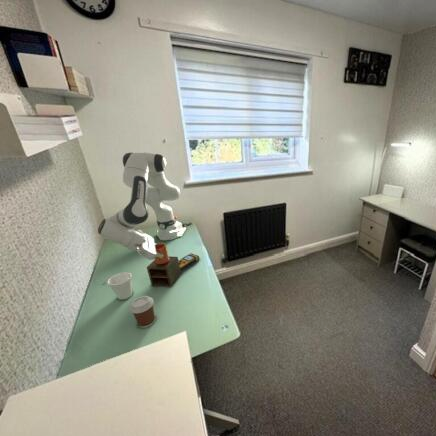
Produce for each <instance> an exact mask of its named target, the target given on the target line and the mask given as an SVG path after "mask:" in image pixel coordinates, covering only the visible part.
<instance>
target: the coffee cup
mask: <svg viewBox="0 0 436 436" xmlns="http://www.w3.org/2000/svg"><path fill="white" fill-rule="evenodd" d="M154 303H155V301H154V298H152V297H151V296H148V295H140V296H137V297H136V298H134V299H133V300H132V301H131V303H130V305H129V307H128V309H129V312H130V313H131V314H133V316H134V318H135V320H136V322H137V324H138V326H139V327H140V328H143V329H145V328H148V327H151V326H152V325H153V324H154V323H155V322H156V316H155V310H154Z"/></svg>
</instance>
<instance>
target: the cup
mask: <svg viewBox="0 0 436 436" xmlns="http://www.w3.org/2000/svg"><path fill="white" fill-rule="evenodd" d="M106 283H107V284H108V286H109V287H110V288H111V290H112V291H113V293H114V295H115V296H116V298H117V299H118V300H127V299H129V298H131V297H132V295H133V285H132V284H133V283H132V274H131V273H130V272H125V271H124V272H119V273H116V274H114V275H112V276H111V277H109V278H108V279H107V282H106Z"/></svg>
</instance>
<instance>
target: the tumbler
mask: <svg viewBox="0 0 436 436" xmlns="http://www.w3.org/2000/svg"><path fill="white" fill-rule="evenodd" d="M155 248H156V252H158V253H162V254H163V257H162V258H160V257H155V258H154V259H153V260H155V262H156V264H164V263H166V262H168V261H169V257H168V256H169V253H168V249H167V244H166V243H163V242H159V243H156V245H155Z"/></svg>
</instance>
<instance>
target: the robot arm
mask: <svg viewBox="0 0 436 436" xmlns="http://www.w3.org/2000/svg"><path fill="white" fill-rule="evenodd" d="M122 166H123V167H124V169H123V174H122V182H123V183H124V185H125V186H127V187H128V188H130V189H131V192H130V193H131V194H130V201H129V203H128V204H127V205H126V206H125V207H124V208H122V209H121V210H119V211H117V212H116V213H115V214H113V215H111V216H109V217H107V218H104V219H102V220H101V222H100V223H99V225H98V227H97V234H98V235H99V236H100V237H102V238H103V239H106V240H108V241H110V242H112V243H115V244H119V245H121V246H122V247H124V248H126V249H129V250H132V251H137V254H138V255H139V256H141V257H143V258H145V259H147V260H149V261H154V260H155V259H154V258H155V257H160V258H162V257H163V254H162V253H158V252H156V248H155V245H156V244H157V243H155V242H156V241H155V238H154V237H153V236H151V235H149V234H147V233H145V232H143V230H141V229H138V230H135V229H134V228H135V227H136V226H138V225H140V224H143V223H145V222H146V221H147V220H148V218H149V209H148V206H149V207H150V208H151V209H152V210H153V211H154V214H155V218H156V231H157V234H156V236H157V237H158V239H159V240H160V241H172V240H175V239H178V238H181V237H183V235H184V233H185V232H186V230H187V227H186V226H190V225H191V224H192V222H189V223H183V222H180V221H178V220H177V219H178V216H177V215H174V212H173V208H172V207H170V206H169V205H166V204H164V203H165V202H173V201H176V200H179V199H180V197H181V190H180V188H179V187H178V186H176V185H175V184H172V183H170V182H169V181H168V180H167V178H166V176H165V172H164V171H165V170H166V167H167V161H166V158H165V157H164V155H162V154H159V153H150V152H127V153H125V154H124V155H123V157H122ZM148 185H149V187H148ZM185 225H186V226H185Z"/></svg>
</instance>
